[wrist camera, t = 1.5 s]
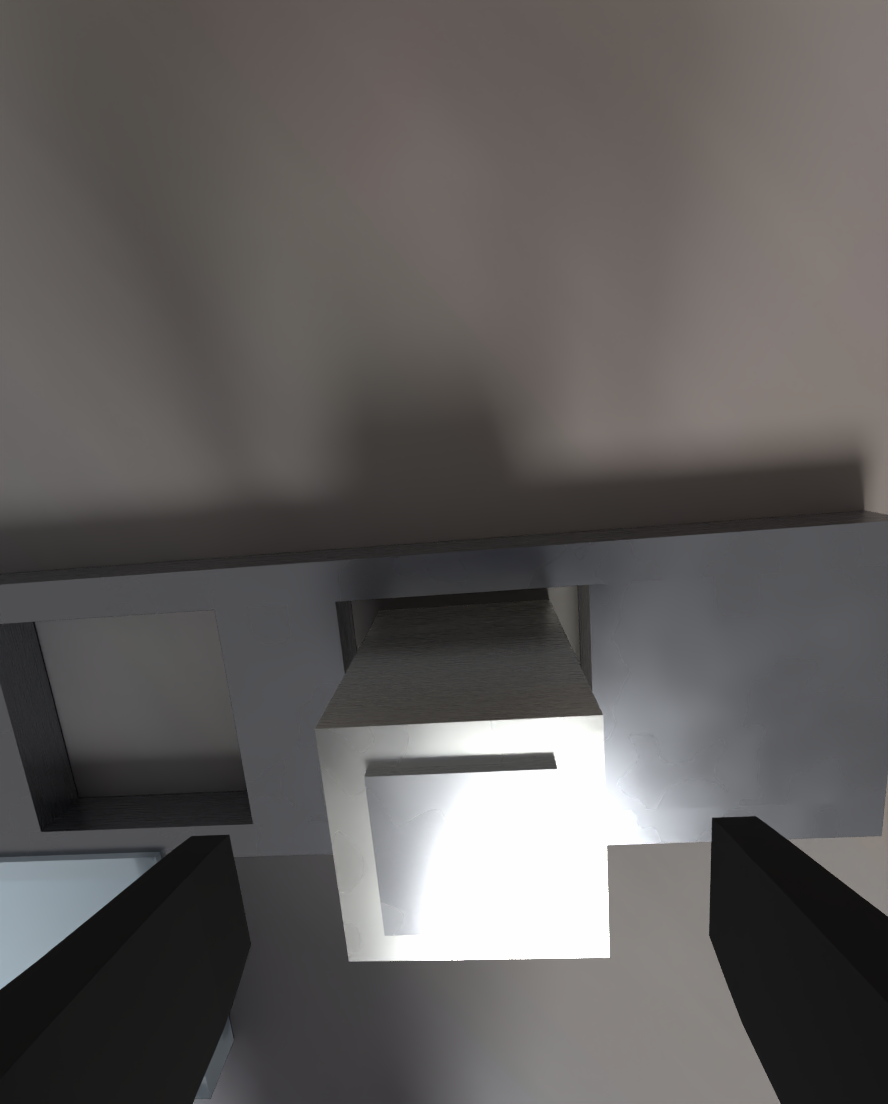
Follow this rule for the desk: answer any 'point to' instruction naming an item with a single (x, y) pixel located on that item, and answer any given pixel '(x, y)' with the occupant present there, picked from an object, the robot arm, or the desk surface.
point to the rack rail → (606, 660)
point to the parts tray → (70, 913)
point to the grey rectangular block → (467, 789)
